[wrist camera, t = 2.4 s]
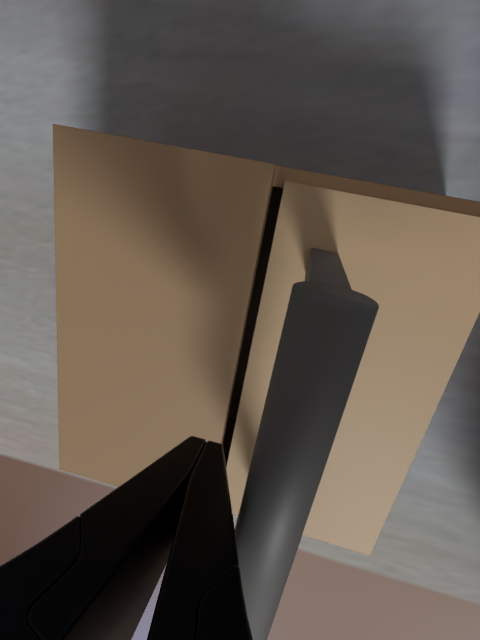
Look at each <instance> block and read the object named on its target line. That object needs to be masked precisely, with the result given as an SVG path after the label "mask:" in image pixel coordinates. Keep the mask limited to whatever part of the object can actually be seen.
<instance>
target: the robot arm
mask: <svg viewBox="0 0 480 640" xmlns="http://www.w3.org/2000/svg"><path fill="white" fill-rule="evenodd" d="M166 564H167V565H166ZM165 566H166V569H165V573H164V576H163V580H162V584H161V588H160V592H159V596H158V600H157V603H156V607H155V611H154V615H153V618H152V622H151V626H150V630H149V634H148V638H147V640H253V637H252V633H251V629H250V624H249V620H248V616H247V610H246V604H245V598H244V592H243V586H242V579H241V572H240V568H239V559H238V551H237V544H236V537H235V529H234V522H233V515H232V507H231V500H230V493H229V485H228V478H227V471H226V463H225V456H224V449H223V445H222V444H221V443H217V442H213V441H207V442H206V440H205V439H202V438H199V437H195V436H190V437H188V438H187V439H186V440H184V441H183V442H181V443H180V444H179V445H177V446H176V447H174V448H173V449H171V450H170V451H169V452H167V453H166V454H164V455H163V456H162V457H160V458H159V459H157V460H156V461H155V462H153V463H152V464H150V465H149V466H148V467H146V468H145V469H143V470H142V471H140V472H139V473H138V474H136V475H135V476H133V477H132V478H131V479H129V480H128V481H126V482H125V483H124V484H122V485H121V486H119V487H118V488H117V489H115V490H114V491H112V492H111V493H110V494H108V495H107V496H105V497H104V498H103V499H101V500H100V501H98V502H97V503H95V504H94V505H93V506H91V507H90V508H88V509H87V510H85V511H84V512H83V513H81V514H80V517H79V516H77V517H75V518H74V519H73V520H71V521H70V522H69V523H67V524H66V525H64V526H63V527H61V528H60V529H58V530H57V531H55V532H54V533H52V534H51V535H49V536H48V537H46V538H45V539H43V540H42V541H41V542H39V543H38V544H36V545H34V546H33V547H31V548H30V549H28V550H26V551H24V552H23V553H21V554H20V555H18V556H16V557H15V558H13V559H11V560H10V561H8V562H6V563H5V564H3V565H1V566H0V640H131V639H132V637H133V634H134V632H135V630H136V628H137V626H138V623H139V621H140V619H141V617H142V615H143V613H144V611H145V609H146V606H147V604H148V602H149V600H150V598H151V596H152V594H153V591H154V589H155V587H156V585H157V583H158V581H159V578H160V576H161V574H162V572H163V570H164V568H165Z"/></svg>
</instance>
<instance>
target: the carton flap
mask: <svg viewBox="0 0 480 640" xmlns="http://www.w3.org/2000/svg"><path fill="white" fill-rule="evenodd" d="M479 313H480V217H476V216H471V215H465V214H460V213H455V212H449V211H444V210H438V209H433V208H428V207H422V206H417V205H411V204H406V203H401V202H395V201H390V200H384V199H379V198H374V197H368V196H363V195H357V194H352V193H347V192H341V191H336V190H330V189H325V188H320V187H314V186H309V185H303V184H298V183H293V182H287V181H285V184H284V189H283V194H282V199H281V204H280V209H279V213H278V218H277V223H276V228H275V233H274V238H273V243H272V248H271V252H270V257H269V262H268V267H267V272H266V277H265V282H264V287H263V291H262V296H261V301H260V306H259V311H258V316H257V321H256V326H255V330H254V335H253V340H252V345H251V350H250V355H249V360H248V365H247V369H246V374H245V379H244V384H243V389H242V394H241V399H240V404H239V408H238V413H237V418H236V423H235V428H234V433H233V438H232V443H231V448H230V452H229V457H228V462H227V467H226V471H227V478H228V485H229V493H230V500H231V507H232V514H235V515H238V519H237V523H236V527H235V537H236V544H237V551H238V559H239V568H240V572H241V579H242V586H243V592H244V598H245V604H246V610H247V616H248V620H249V624H250V629H251V633H252V637H253V640H267V638H268V634H269V631H270V629H271V625H272V623H273V620H274V617H275V614H276V611H277V608H278V605H279V602H280V599H281V596H282V593H283V590H284V587H285V584H286V581H287V578H288V575H289V572H290V569H291V567H292V563H293V561H294V558H295V554H296V552H297V549H298V546H299V543H300V540H301V537H302V535H304V536H307V537H310V538H314V539H317V540H320V541H324V542H327V543H330V544H333V545H337V546H340V547H343V548H347V549H350V550H353V551H356V552H360V553H363V554H366V555H370V554H371V552H372V550H373V547H374V545H375V543H376V541H377V539H378V536H379V534H380V532H381V530H382V528H383V525H384V523H385V521H386V519H387V516H388V514H389V512H390V510H391V508H392V505H393V503H394V501H395V499H396V496H397V494H398V492H399V490H400V488H401V485H402V483H403V481H404V479H405V477H406V474H407V472H408V470H409V468H410V465H411V463H412V461H413V459H414V457H415V454H416V452H417V450H418V448H419V446H420V443H421V441H422V439H423V437H424V434H425V432H426V430H427V428H428V426H429V423H430V421H431V419H432V417H433V415H434V412H435V410H436V408H437V406H438V403H439V401H440V399H441V397H442V395H443V392H444V390H445V388H446V386H447V384H448V381H449V379H450V377H451V375H452V372H453V370H454V368H455V366H456V364H457V361H458V359H459V357H460V355H461V352H462V350H463V348H464V346H465V344H466V341H467V339H468V337H469V335H470V333H471V330H472V328H473V326H474V324H475V321H476V319H477V317H478V315H479Z"/></svg>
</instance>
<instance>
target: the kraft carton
mask: <svg viewBox="0 0 480 640" xmlns="http://www.w3.org/2000/svg"><path fill="white" fill-rule="evenodd" d="M53 158H54V209H55V261H56V312H57V364H58V415H59V467H60V469H61V470H64V471H68V472H71V473H74V474H78V475H81V476H84V477H88V478H91V479H94V480H98V481H101V482H104V483H108V484H111V485H114V486H118V487H119V486H121V485H122V484H124V483H125V482H126V481H128V480H129V479H131V478H132V477H133V476H135V475H136V474H138V473H139V472H140V471H142V470H143V469H145V468H146V467H148V466H149V465H150V464H152V463H153V462H155V461H156V460H157V459H159V458H160V457H162V456H163V455H164V454H166V453H167V452H169V451H170V450H171V449H173V448H174V447H176V446H177V445H179V444H180V443H181V442H183V441H184V440H186V439H187V438H188V437H190V436H195V437H199V438H202V439H205V440H206V442H207V441H213V442H217V443H221V444H222V445H223V449H224V456H225V463H226V467H227V462H228V457H229V452H230V448H231V443H232V438H233V433H234V428H235V423H236V418H237V413H238V408H239V404H240V399H241V394H242V389H243V384H244V379H245V374H246V369H247V365H248V360H249V355H250V350H251V345H252V340H253V335H254V330H255V326H256V321H257V316H258V311H259V306H260V301H261V296H262V291H263V287H264V282H265V277H266V272H267V267H268V262H269V257H270V252H271V248H272V243H273V238H274V233H275V228H276V223H277V218H278V213H279V209H280V204H281V199H282V194H283V189H284V184H285V181H287V182H293V183H298V184H303V185H309V186H314V187H320V188H325V189H330V190H336V191H341V192H347V193H352V194H357V195H363V196H368V197H374V198H379V199H384V200H390V201H395V202H401V203H406V204H411V205H417V206H422V207H428V208H433V209H438V210H444V211H449V212H455V213H460V214H465V215H471V216H476V217H480V202H478V201H472V200H466V199H461V198H455V197H450V196H444V195H439V194H433V193H428V192H422V191H417V190H411V189H405V188H400V187H394V186H389V185H383V184H378V183H372V182H367V181H361V180H356V179H350V178H345V177H339V176H333V175H328V174H322V173H317V172H311V171H306V170H300V169H295V168H289V167H284V166H278V165H275V164H272V163H267V162H261V161H256V160H250V159H245V158H239V157H234V156H228V155H223V154H217V153H211V152H206V151H200V150H195V149H189V148H184V147H178V146H173V145H167V144H161V143H156V142H150V141H145V140H139V139H134V138H128V137H123V136H117V135H112V134H106V133H100V132H95V131H89V130H84V129H78V128H73V127H67V126H62V125H56V124H53Z"/></svg>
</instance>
